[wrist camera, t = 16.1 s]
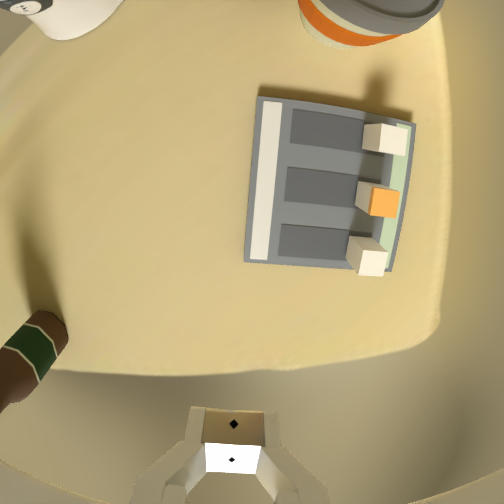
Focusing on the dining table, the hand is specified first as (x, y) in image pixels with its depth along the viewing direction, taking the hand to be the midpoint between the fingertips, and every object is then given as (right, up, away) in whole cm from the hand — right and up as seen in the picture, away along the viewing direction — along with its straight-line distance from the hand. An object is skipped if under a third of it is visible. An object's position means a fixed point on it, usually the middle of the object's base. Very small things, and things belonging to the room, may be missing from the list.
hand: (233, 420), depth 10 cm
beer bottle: (-32, -7, +33) cm, 46 cm away
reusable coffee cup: (+11, +34, +19) cm, 40 cm away
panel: (+10, +13, +26) cm, 31 cm away
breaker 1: (+14, +19, +22) cm, 32 cm away
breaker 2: (+13, +6, +27) cm, 31 cm away
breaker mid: (+14, +12, +25) cm, 31 cm away
